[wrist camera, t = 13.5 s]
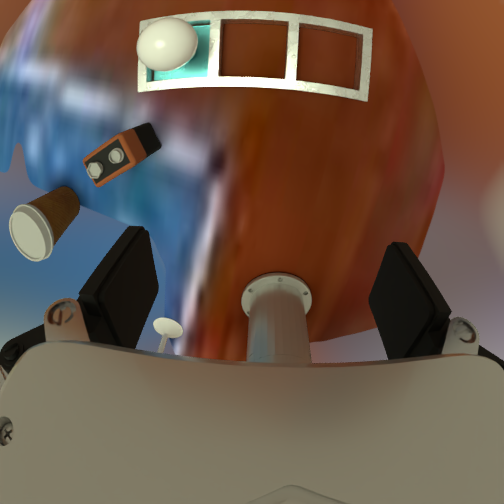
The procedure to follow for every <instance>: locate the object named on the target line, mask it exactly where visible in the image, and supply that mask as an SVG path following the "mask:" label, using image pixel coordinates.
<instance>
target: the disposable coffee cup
mask: <svg viewBox="0 0 504 504" xmlns="http://www.w3.org/2000/svg"><path fill="white" fill-rule="evenodd" d="M79 210H80V203H79V199H78V197H77V195H76V194H75V192H74V191H73V190H72V189H70V188H68V187H65V186H63V187H60V188H58V189H56V190H53V191H51V192H49V193H47V194H45V195H43V196H41V197H39V198H37V199H35V200H33V201H31V202H29V203H27V204H22V205H19V206H18V207H16V208H15V210H14V212H13V214H12V216H11V217H10V221H9V228H10V234H11V237H12V240H13V242H14V244H15V245H16V247H17V248H18V250H19V251H20V252H21V253H22V254H23V255H24V256H25V257H26V258H28V259H30V260H32V261H40V260H42V259H46V258H47V257H49V256H50V254H51V252H52V249H53V246H54V245H55V244H56V242H57V241H58V239H59V238H60V237H61V235H62V234H63V233H64V231H65V230H66V229H67V227H68V226H69V225H70V224H71V222H72V221H73V220H74V218H75V217H76V216H77V215H78V213H79Z"/></svg>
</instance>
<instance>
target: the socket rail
mask: <svg viewBox="0 0 504 504" xmlns="http://www.w3.org/2000/svg"><path fill="white" fill-rule="evenodd" d="M163 18H179V19H182V20H184V21H186V22H188V23H189V24H190V25H191V26H192V27H193V28H194V29H195V31H196V33H197V37H198V46H197V49H196V53H195V55H194V57H193V58H192V59H190V60H189V61H188V62H187V63H186V64H185V65H183V66H182V67H180V68H178V69H175V70H172V71H165V72H162V71H155V70H152V69H150V68H148V67H146V66H145V65H144V64H143V63H142V62H141V61H140V59H139V57H138V92H145V91H154V90H163V89H175V88H189V87H222V86H230V87H262V88H277V89H289V90H298V91H307V92H315V93H322V94H328V95H334V96H340V97H346V98H351V99H356V100H361V101H367V100H368V90H369V79H370V67H371V51H372V29H370V28H366V27H362V26H358V25H354V24H350V23H346V22H341V21H336V20H331V19H326V18H320V17H314V16H307V15H300V14H291V13H280V12H266V11H214V12H200V13H189V14H180V15H173V16H166V17H160V18H154V19H149V20H144V21H140V33H139V36H140V34H141V33H142V31H143V30H144V29H145V28H146V27H147V26H148V25H150V24H151V23H153V22H155V21H157V20H159V19H163ZM230 23H246V24H271V25H284V26H287V40H286V58H285V75H284V79H272V78H255V77H221V63H222V42H223V24H230ZM205 24H210V25H205ZM193 25H202V26H193ZM299 27H302V28H310V29H316V30H322V31H328V32H333V33H338V34H343V35H348V36H352V37H356V38H357V49H356V65H355V78H354V89H348V88H343V87H337V86H331V85H325V84H319V83H311V82H304V81H296V70H297V53H298V35H299ZM193 77H202V78H193ZM178 78H184V79H178ZM167 79H172V80H167ZM158 80H162V81H158Z"/></svg>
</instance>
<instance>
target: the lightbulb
mask: <svg viewBox="0 0 504 504" xmlns="http://www.w3.org/2000/svg"><path fill="white" fill-rule="evenodd" d="M197 46H198V37H197V33H196V31H195V29H194V28H193V27H192V26H191V25H190V24H189V23H188V22H186V21H184V20H182V19H179V18H163V19H159V20H157V21H155V22H153V23H151V24H150V25H148V26H147V27H146V28H145V29H144V30H143V31H142V33H141V34H140V36H139V38H138V41H137V54H138V57H139V59H140V61H141V62H142V63H143V64H144V65H145V66H146V67H148V68H150V69H152V70H155V71H162V72H165V71H172V70H175V69H178V68H180V67H182V66H183V65H185V64H186V63H187V62H188V61H189V60H190V59H192V58H193V57H194V55H195V53H196V49H197Z"/></svg>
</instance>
